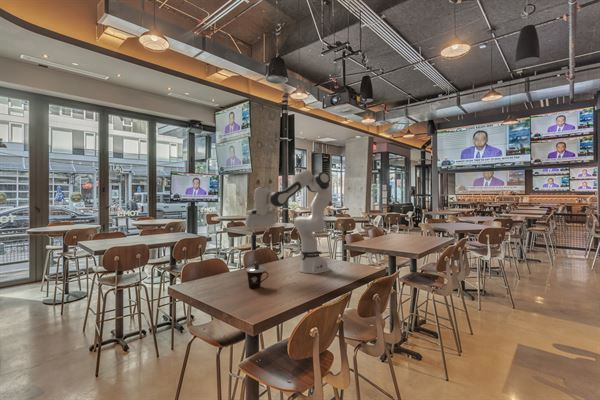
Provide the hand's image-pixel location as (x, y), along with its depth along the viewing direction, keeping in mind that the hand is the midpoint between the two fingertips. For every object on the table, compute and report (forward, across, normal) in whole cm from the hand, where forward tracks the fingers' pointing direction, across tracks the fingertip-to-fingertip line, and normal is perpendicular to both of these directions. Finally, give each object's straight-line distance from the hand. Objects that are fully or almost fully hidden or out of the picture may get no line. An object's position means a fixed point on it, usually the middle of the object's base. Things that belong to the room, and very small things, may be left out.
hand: (260, 232), depth 199 cm
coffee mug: (+29, +12, +23) cm, 39 cm away
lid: (+19, +12, +23) cm, 32 cm away
